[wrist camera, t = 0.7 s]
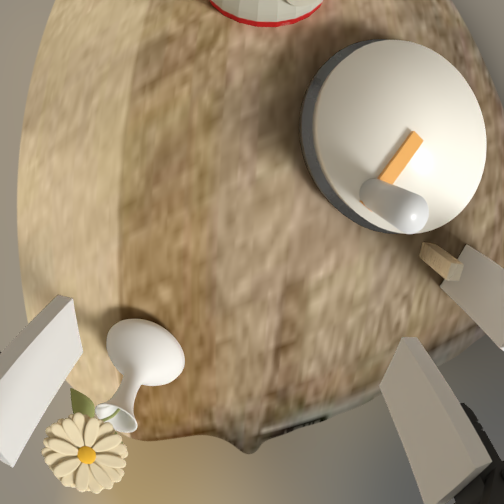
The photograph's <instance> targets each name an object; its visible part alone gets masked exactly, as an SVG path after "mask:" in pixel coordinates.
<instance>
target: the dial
mask: <svg viewBox="0 0 504 504" xmlns="http://www.w3.org/2000/svg"><path fill="white" fill-rule="evenodd" d="M312 132H313V143H314V148H315V152H316V156H317V159H318V162H319V165H320V168H321V170H322V172H323V174H324V176H325V178H326V180H327V181H328V183H329V185H330V186H331V188H332V189H333V191H334V192H335V193H336V194H337V195H338V197H339V198H340V199H341V200H342V201H343V202H344V203H345V204H346V205H347V206H349V207H350V208H351V209H352V210H354V211H355V212H356V213H357V214H359V215H360V216H361V217H363V218H364V219H366V220H367V221H368V222H370V223H372V224H374V225H376V226H378V227H380V228H383V229H385V230H388V231H392V232H397V233H405V234H415V233H423V232H427V231H431V230H433V229H436V228H438V227H441V226H442V225H444V224H446V223H448V222H449V221H451V220H452V219H453V218H454V217H456V216H457V215H458V214H459V213H460V212H461V211H462V210H463V209H464V208H465V207H466V205H467V204H468V203H469V201H470V200H471V198H472V197H473V195H474V193H475V191H476V189H477V187H478V185H479V182H480V180H481V177H482V173H483V170H484V165H485V159H486V132H485V125H484V120H483V116H482V113H481V110H480V107H479V104H478V102H477V99H476V97H475V95H474V93H473V91H472V90H471V88H470V86H469V85H468V83H467V82H466V80H465V79H464V78H463V76H462V75H461V74H460V73H459V71H458V70H457V69H456V68H455V67H454V66H453V65H452V64H451V63H450V62H448V61H447V60H446V59H445V58H443V57H442V56H441V55H439V54H438V53H436V52H434V51H433V50H431V49H429V48H427V47H424V46H422V45H419V44H416V43H413V42H409V41H403V40H383V41H377V42H373V43H370V44H367V45H365V46H363V47H361V48H359V49H357V50H355V51H354V52H353V53H351V54H350V55H349V56H347V57H346V58H345V59H344V60H342V61H341V62H340V63H339V64H338V65H337V66H336V67H335V68H334V69H333V70H332V71H331V72H330V74H329V75H328V77H327V78H326V79H325V81H324V82H323V85H322V87H321V89H320V91H319V93H318V96H317V99H316V102H315V106H314V112H313V123H312Z"/></svg>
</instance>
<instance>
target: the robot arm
mask: <svg viewBox="0 0 504 504" xmlns="http://www.w3.org/2000/svg"><path fill="white" fill-rule="evenodd" d="M82 353H83V349H82V344H81V340H80V335H79V330H78V325H77V320H76V314H75V308H74V302H73V298H70V297H65V296H61V295H57V296H56V297H55V298H54V299H53V300H52V301H51V302H50V303H49V304H48V305H47V306H46V307H45V308H44V309H43V310H42V311H41V312H40V313H39V314H38V315H37V316H36V317H35V318H34V319H33V320H32V321H31V322H30V323H29V324H28V325H27V326H26V327H25V328H24V329H23V330H22V331H21V332H20V333H19V334H18V335H17V336H16V337H15V338H14V339H13V340H12V342H11V343H10V344H9V345H8V346H7V347H6V348H5V349H4V350H3V351H2V352H0V460H1V461H3V462H4V463H6V464H8V465H9V466H11V467H14V465H15V463H16V461H17V459H18V457H19V456H20V453H21V452H22V450H23V448H24V446H25V445H26V443H27V441H28V439H29V437H30V436H31V434H32V432H33V431H34V429H35V427H36V425H37V424H38V422H39V420H40V419H41V417H42V415H43V414H44V412H45V410H46V409H47V407H48V406H49V404H50V402H51V401H52V399H53V397H54V396H55V394H56V393H57V391H58V390H59V388H60V386H61V385H62V383H63V382H64V380H65V379H66V377H67V376H68V374H69V373H70V371H71V370H72V368H73V367H74V365H75V364H76V362H77V361H78V359H79V358H80V356H81V355H82ZM379 387H380V390H381V392H382V394H383V397H384V399H385V401H386V403H387V406H388V408H389V411H390V414H391V416H392V419H393V421H394V423H395V426H396V428H397V431H398V433H399V436H400V438H401V441H402V444H403V446H404V449H405V452H406V454H407V457H408V459H409V462H410V465H411V468H412V470H413V473H414V476H415V479H416V482H417V485H418V487H419V490H420V493H421V496H422V499H423V502H424V504H446V503H447V502H448V501H449V500H451V499H452V498H453V497H454V499H455V501H456V502H455V503H454V504H504V461H501V459H500V458H499V456H498V454H497V452H496V450H495V449H494V447H493V445H492V443H491V441H490V440H489V438H488V436H487V434H486V433H485V431H483V428H482V426H481V424H480V423H478V419H477V417H476V416H475V414H474V413H473V411H472V410H471V409H470V408H469V407H467V406H466V405H465V404H464V403H459V401H458V400H457V398H456V397H455V395H454V393H453V392H452V390H451V389H450V387H449V385H448V384H447V382H446V381H445V379H444V377H443V376H442V374H441V373H440V371H439V370H438V368H437V367H436V365H435V364H434V362H433V361H432V359H431V358H430V356H429V355H428V353H427V352H426V350H425V349H424V347H423V346H422V344H421V343H420V341H419V340H418V338H417V337H402V338H401V340H400V343H399V345H398V347H397V349H396V352H395V354H394V356H393V358H392V361H391V363H390V365H389V367H388V369H387V371H386V373H385V375H384V377H383V379H382V381H381V383H380V385H379Z"/></svg>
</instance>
